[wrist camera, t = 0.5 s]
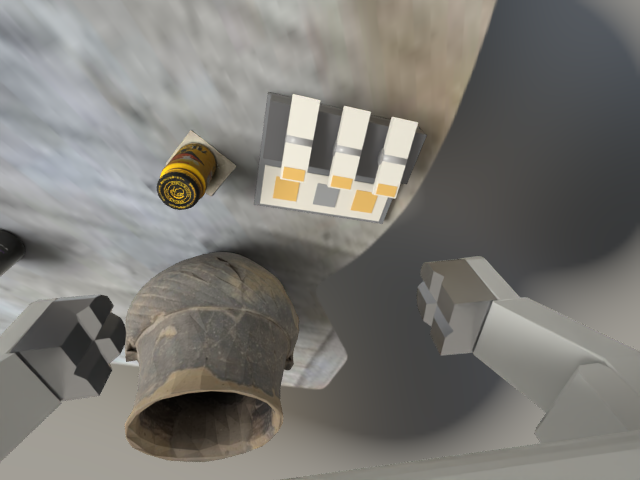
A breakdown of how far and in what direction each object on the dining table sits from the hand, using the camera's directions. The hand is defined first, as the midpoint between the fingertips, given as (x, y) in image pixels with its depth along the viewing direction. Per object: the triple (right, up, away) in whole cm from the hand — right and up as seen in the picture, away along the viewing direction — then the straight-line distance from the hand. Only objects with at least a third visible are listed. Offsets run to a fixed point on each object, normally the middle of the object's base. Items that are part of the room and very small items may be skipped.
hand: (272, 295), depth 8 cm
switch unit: (+3, +14, +45) cm, 47 cm away
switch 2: (+5, +15, +37) cm, 40 cm away
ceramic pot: (-18, -6, +57) cm, 60 cm away
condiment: (-18, +14, +43) cm, 48 cm away
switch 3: (+12, +14, +39) cm, 43 cm away
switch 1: (-2, +16, +36) cm, 39 cm away
